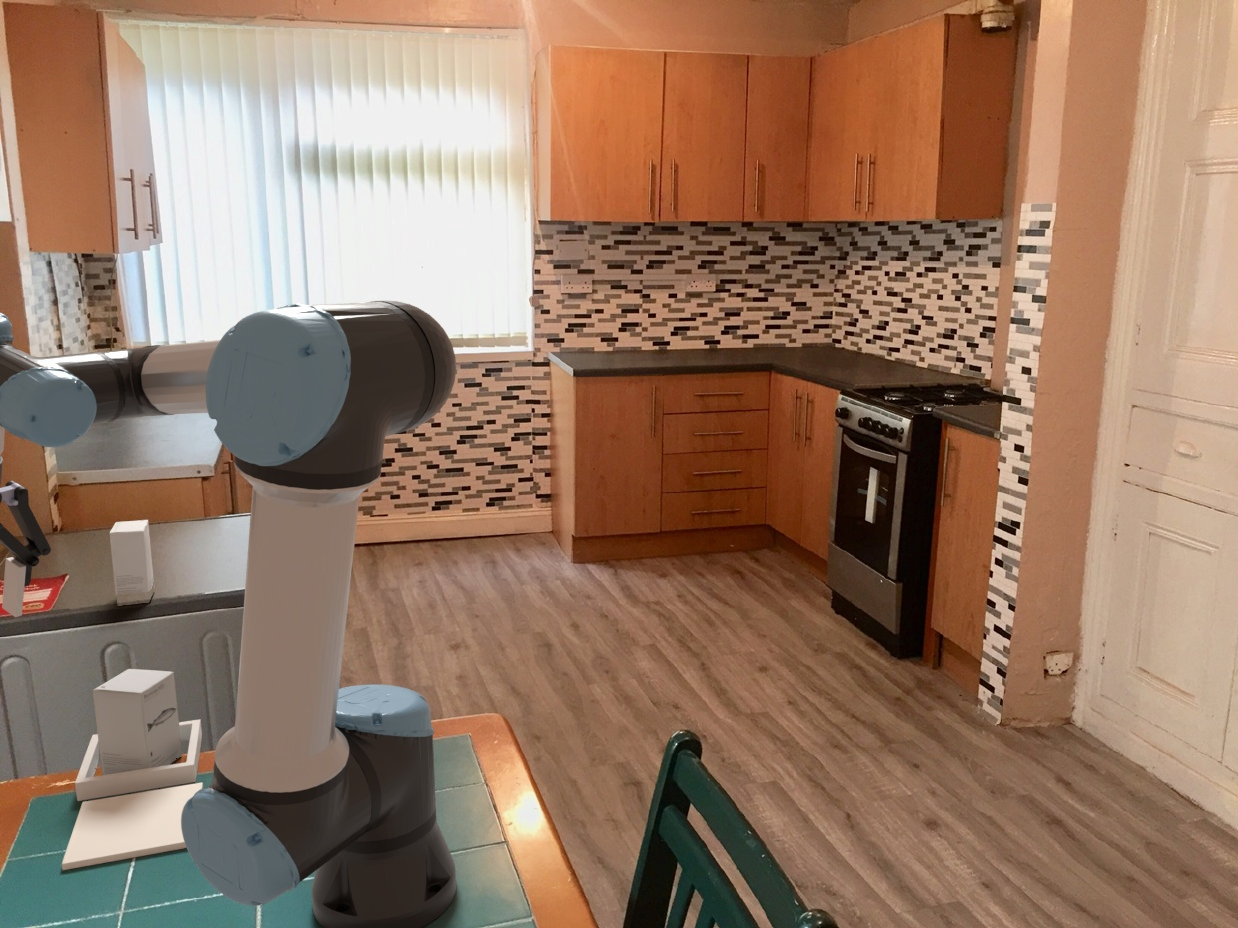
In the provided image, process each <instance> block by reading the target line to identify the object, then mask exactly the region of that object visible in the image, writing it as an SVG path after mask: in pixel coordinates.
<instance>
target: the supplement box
mask: <svg viewBox="0 0 1238 928" xmlns="http://www.w3.org/2000/svg"><path fill="white" fill-rule="evenodd" d="M175 681H176V680H175V672H174V671H170V670H169V671H168V670H156V669H155V670H152V669H142V668H141V669H137V668H127V669H126V670H124V671H122V672H121V673H119V674H118V675H115V676H114V677H112V678H111V679H109V680H107V681H106V682H104V683H102V684H101V685H98V686H97V687H96V688H93V689H92V696H93V698H92V699H93V704H94V713H95V722H96V731H97V732H96V733H97V734H98V741H99V749H100V764H101V765H100V766H101V772H102V773H101V774H102V775H108V774H115V773H121V772H127V771H134V770H140V769H147V768H153V767H159V766H166V765H172V763H174V762H175V761H176V760H177V759H179V758H181V757H182V756H183V750H182V741H181V738H180V728H179V722H180V721H179V720H180V719H179V710H178V701H177V700H178V699H177V692H176V682H175ZM176 758H177V759H176ZM102 775H101V776H102Z"/></svg>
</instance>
